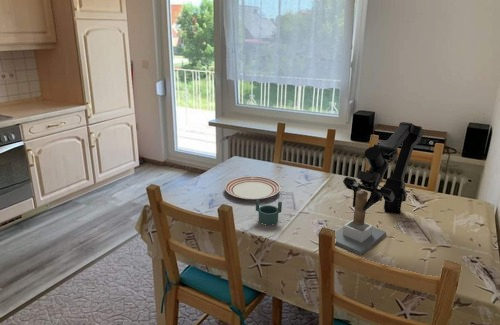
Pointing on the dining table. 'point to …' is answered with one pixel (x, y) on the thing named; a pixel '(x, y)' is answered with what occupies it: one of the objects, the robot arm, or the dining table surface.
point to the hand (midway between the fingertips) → (358, 208)
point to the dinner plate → (252, 187)
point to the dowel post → (360, 208)
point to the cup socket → (358, 237)
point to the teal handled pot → (268, 213)
